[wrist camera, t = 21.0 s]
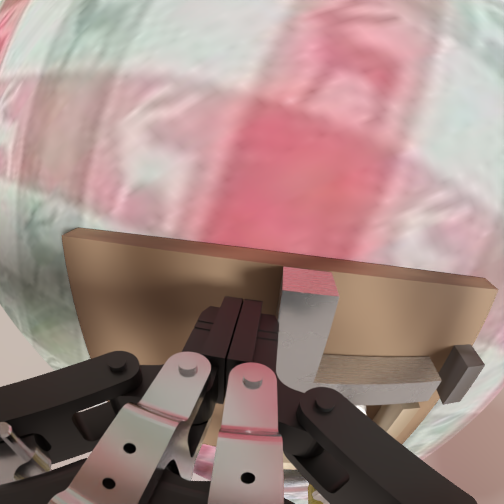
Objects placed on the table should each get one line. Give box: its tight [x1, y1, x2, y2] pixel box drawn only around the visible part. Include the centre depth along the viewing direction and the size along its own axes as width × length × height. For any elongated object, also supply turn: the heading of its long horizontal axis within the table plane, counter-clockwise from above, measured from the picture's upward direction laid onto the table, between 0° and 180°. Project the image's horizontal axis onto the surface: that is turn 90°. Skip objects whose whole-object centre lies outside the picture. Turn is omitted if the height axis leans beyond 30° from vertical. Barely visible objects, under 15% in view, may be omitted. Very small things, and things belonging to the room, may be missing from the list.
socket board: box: [62, 228, 498, 470], centre depth 14 cm, size 24×16×4 cm, turn 85°
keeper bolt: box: [276, 267, 442, 406], centre depth 11 cm, size 9×6×2 cm, turn 85°
